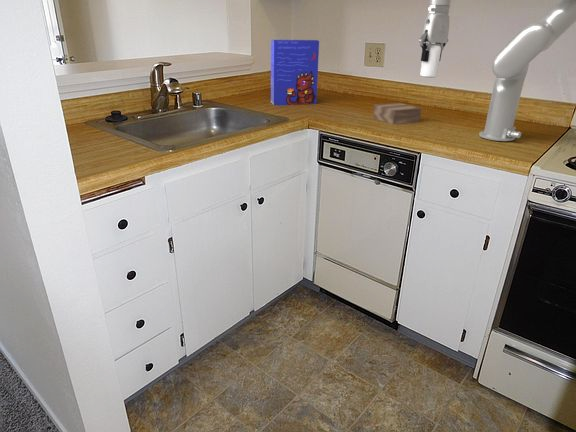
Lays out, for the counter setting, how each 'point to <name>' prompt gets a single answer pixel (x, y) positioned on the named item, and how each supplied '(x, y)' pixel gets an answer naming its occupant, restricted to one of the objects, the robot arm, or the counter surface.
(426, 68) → the can
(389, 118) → the walnut block
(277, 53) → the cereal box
